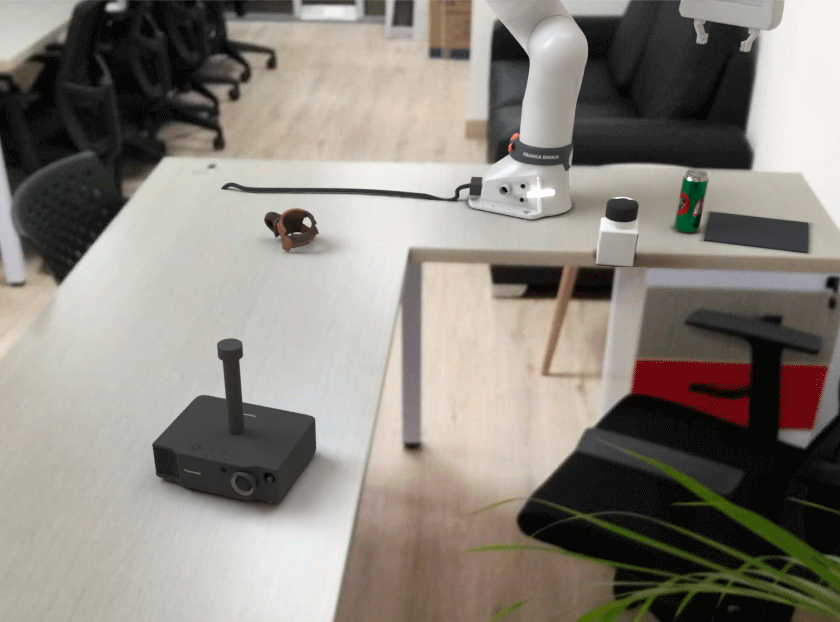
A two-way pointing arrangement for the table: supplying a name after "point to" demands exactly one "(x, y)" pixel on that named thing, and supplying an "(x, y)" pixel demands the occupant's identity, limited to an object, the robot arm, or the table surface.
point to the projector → (235, 442)
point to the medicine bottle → (618, 233)
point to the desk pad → (757, 232)
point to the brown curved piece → (292, 227)
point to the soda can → (691, 201)
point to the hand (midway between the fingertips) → (722, 47)
